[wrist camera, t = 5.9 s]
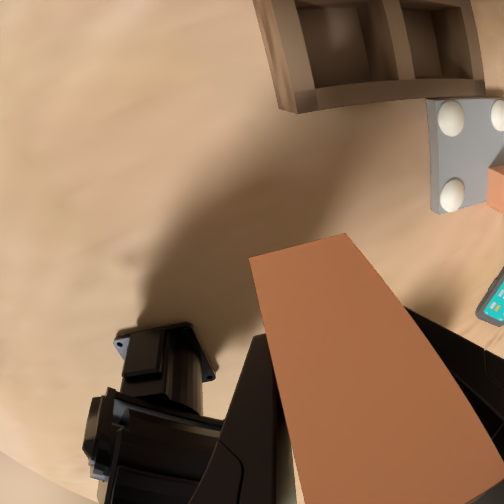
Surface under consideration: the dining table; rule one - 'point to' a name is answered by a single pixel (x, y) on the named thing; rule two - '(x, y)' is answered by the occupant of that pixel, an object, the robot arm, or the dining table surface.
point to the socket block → (369, 51)
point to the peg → (365, 386)
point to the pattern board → (466, 152)
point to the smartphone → (493, 303)
